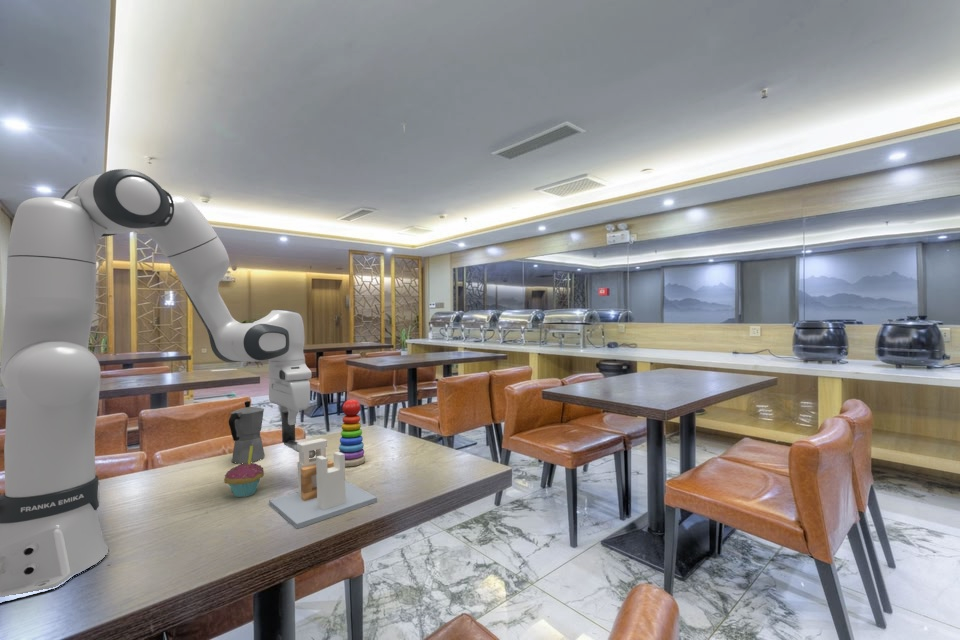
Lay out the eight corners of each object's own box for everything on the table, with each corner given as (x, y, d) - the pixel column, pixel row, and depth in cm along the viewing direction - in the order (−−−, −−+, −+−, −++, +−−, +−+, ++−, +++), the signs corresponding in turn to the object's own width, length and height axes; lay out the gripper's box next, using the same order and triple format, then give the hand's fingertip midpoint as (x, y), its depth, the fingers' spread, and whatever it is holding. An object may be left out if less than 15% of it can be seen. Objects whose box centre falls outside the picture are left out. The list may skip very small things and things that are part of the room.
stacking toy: (357, 468, 122) (355, 402, 122) (331, 467, 124) (330, 401, 124) (370, 459, 130) (368, 397, 130) (345, 458, 131) (344, 397, 132)
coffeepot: (246, 453, 140) (245, 397, 140) (274, 452, 139) (273, 397, 140) (215, 469, 124) (213, 407, 125) (246, 468, 124) (245, 406, 124)
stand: (297, 528, 86) (295, 463, 86) (269, 504, 98) (267, 447, 98) (377, 501, 98) (375, 444, 98) (343, 483, 111) (342, 432, 111)
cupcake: (253, 484, 111) (252, 438, 111) (271, 491, 106) (270, 442, 106) (218, 495, 104) (217, 446, 104) (235, 503, 99) (234, 451, 99)
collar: (304, 501, 97) (304, 470, 97) (301, 498, 99) (300, 468, 99) (334, 492, 102) (333, 462, 102) (330, 490, 103) (330, 460, 104)
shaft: (304, 459, 102) (304, 421, 102) (280, 446, 114) (279, 412, 114) (318, 456, 104) (317, 419, 104) (292, 443, 116) (292, 410, 116)
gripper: (262, 369, 119) (263, 419, 119) (288, 374, 104) (289, 431, 104) (285, 367, 124) (286, 415, 124) (314, 372, 109) (315, 427, 109)
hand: (288, 423), depth 114 cm, fingers closed on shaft, 3 cm apart
